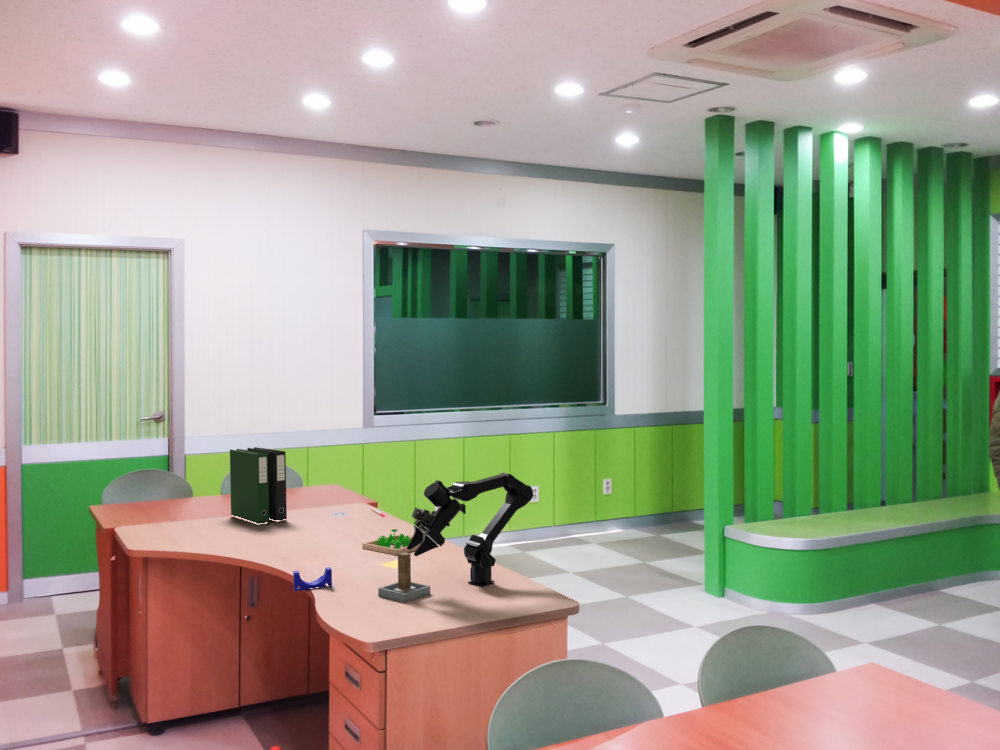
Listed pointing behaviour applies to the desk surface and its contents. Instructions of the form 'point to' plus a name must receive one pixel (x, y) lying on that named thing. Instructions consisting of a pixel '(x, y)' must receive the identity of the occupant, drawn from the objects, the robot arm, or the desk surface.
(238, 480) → the binder
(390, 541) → the green leafy plants
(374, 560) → the desk surface
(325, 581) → the cable clip
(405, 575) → the wooden post on base
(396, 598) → the tray
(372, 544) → the shallow wooden tray
